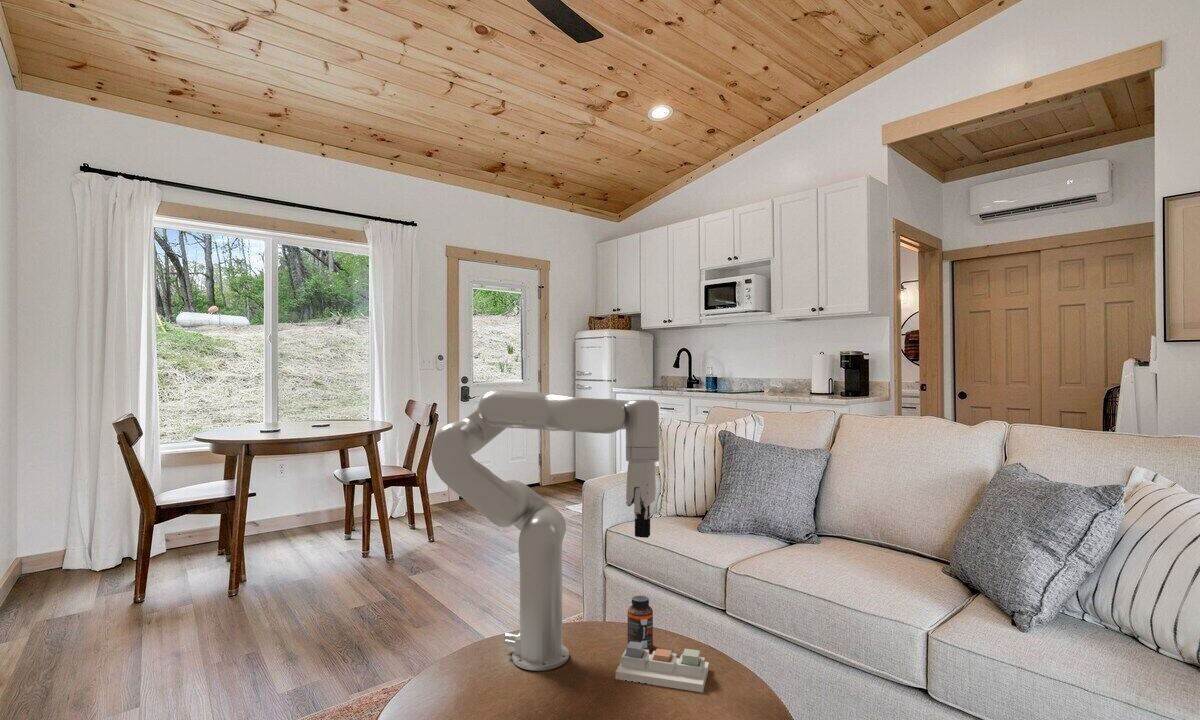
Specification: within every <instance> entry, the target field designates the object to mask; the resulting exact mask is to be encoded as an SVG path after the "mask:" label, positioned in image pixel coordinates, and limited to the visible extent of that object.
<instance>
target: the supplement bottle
mask: <svg viewBox="0 0 1200 720" xmlns="http://www.w3.org/2000/svg"><path fill="white" fill-rule="evenodd" d="M653 623H654V611H653V608H652V607H651V606H650V598H649V597H648V596H645V595H635V596H632V597H631V605H630V606H629V607H628V608H627V644H628V643H629V642H630V641H632V642H640V643H644V649H646V650H649V651H651V650H652V648H653V647H654V646H653V645H654V624H653Z"/></svg>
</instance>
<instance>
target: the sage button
mask: <svg viewBox="0 0 1200 720" xmlns="http://www.w3.org/2000/svg"><path fill="white" fill-rule="evenodd" d="M700 657H701V650H697V649H692V648H691V649H690V648H684V650H683V652H682V664H685V665H692V666H699V664H700Z"/></svg>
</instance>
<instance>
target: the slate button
mask: <svg viewBox="0 0 1200 720" xmlns="http://www.w3.org/2000/svg"><path fill="white" fill-rule="evenodd" d="M625 649H626V656H628V657H635V658H642V657H643V655H644V643H640V642H632V641H630V642H629V643H628V642H627V645H626V646H625Z"/></svg>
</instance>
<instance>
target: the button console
mask: <svg viewBox="0 0 1200 720" xmlns="http://www.w3.org/2000/svg"><path fill="white" fill-rule="evenodd" d="M655 651H656V650H653V651H652V653H651V654H650V650H646V649H644V655H643V657H642V658H635V657H628V656H626V648H625V649H624V651H623V653H622V655H621V656H620V663H619V665H618V666H617V668H616V670H615V678H614V679H615V680H618V679H619V681H625V680H627V681H626V682H631V681H633V682H632V683H638V682H640V683H639V684H644V683H647V684H646V685H651V684H652V685H653V686H657V687H663V688H664V687H665V688H669V689H670V688H672V689H675V690H677V689H678V690H685V691H691V692H695V693H704V690H705V687H706V683H707V682H706V681H707V678H708V674H709V670H710V667H709V666H710V665H709V664H710V663H709V661H706V657H705V656H704V657H702V656H700V664H699V666H692V665H685V664H682V655H683V653H682V654H681V655H680V656H679V657H677V653H675V652H672V659H671V662H663V661H656V660H654V654H655Z"/></svg>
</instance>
